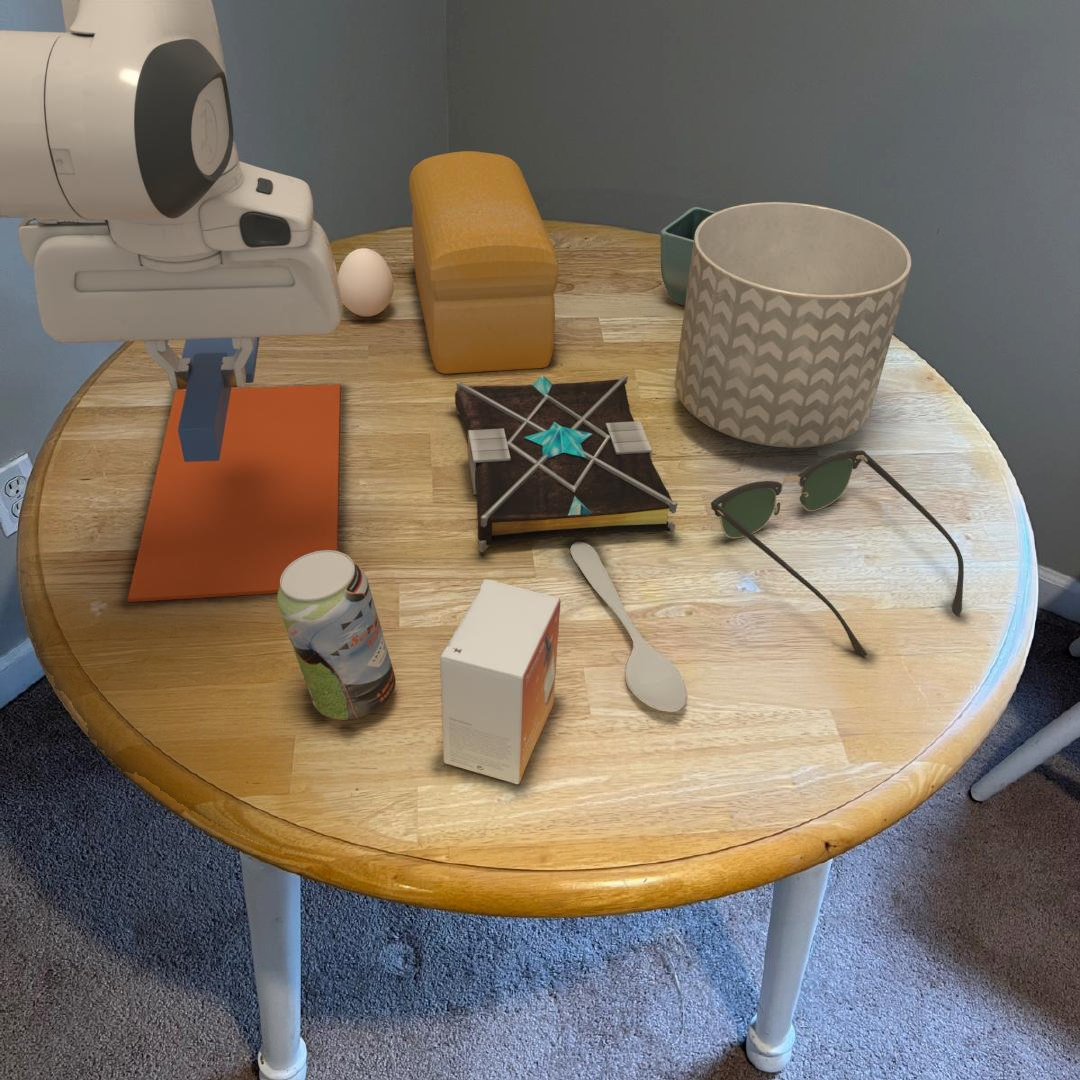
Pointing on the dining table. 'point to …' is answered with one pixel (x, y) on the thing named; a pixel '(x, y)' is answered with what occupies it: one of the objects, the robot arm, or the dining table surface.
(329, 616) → the beverage can
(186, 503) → the flat orange board
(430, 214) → the bread
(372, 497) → the dining table surface
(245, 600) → the dining table surface
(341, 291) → the egg
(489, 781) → the dining table surface
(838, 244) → the planter
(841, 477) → the sunglasses
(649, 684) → the spoon
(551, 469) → the book
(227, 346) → the blue stepped bar
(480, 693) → the small box
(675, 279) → the flower pot
